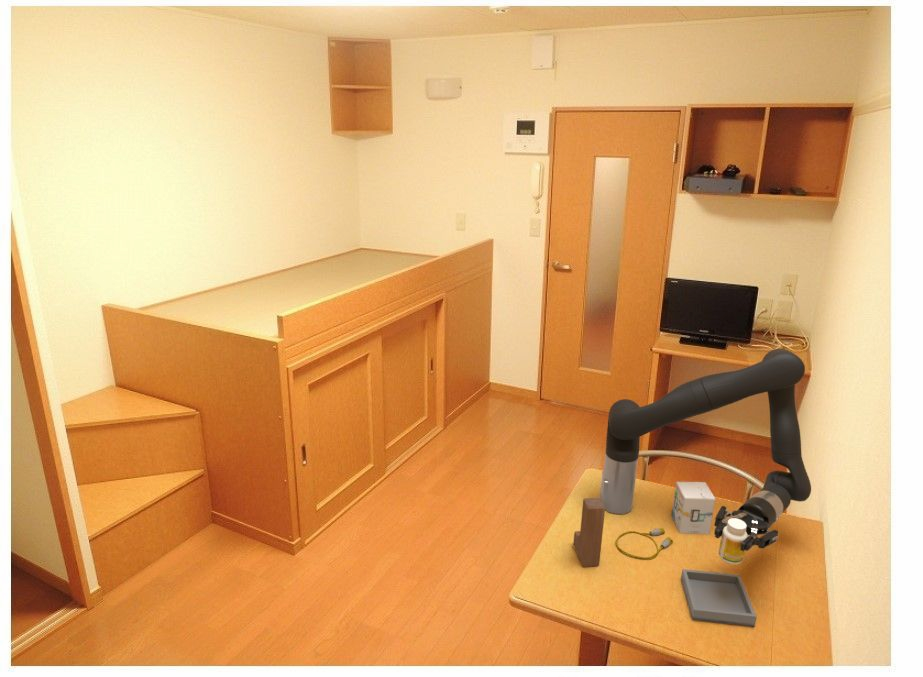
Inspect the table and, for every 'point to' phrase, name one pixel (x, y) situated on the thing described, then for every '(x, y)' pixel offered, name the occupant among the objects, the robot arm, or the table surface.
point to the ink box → (693, 507)
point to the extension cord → (653, 533)
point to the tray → (717, 598)
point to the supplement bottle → (733, 541)
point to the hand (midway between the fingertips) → (729, 541)
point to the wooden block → (590, 532)
